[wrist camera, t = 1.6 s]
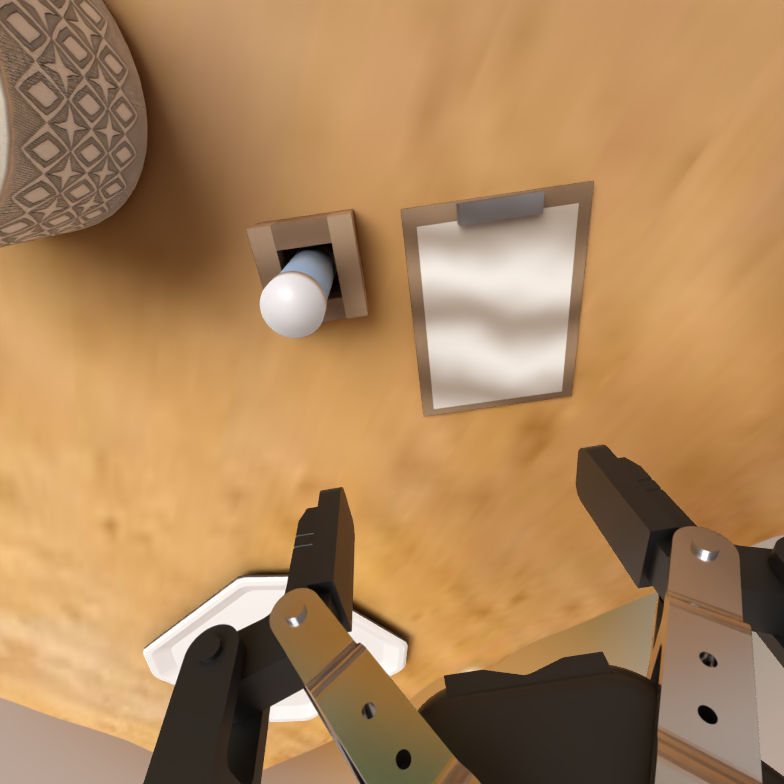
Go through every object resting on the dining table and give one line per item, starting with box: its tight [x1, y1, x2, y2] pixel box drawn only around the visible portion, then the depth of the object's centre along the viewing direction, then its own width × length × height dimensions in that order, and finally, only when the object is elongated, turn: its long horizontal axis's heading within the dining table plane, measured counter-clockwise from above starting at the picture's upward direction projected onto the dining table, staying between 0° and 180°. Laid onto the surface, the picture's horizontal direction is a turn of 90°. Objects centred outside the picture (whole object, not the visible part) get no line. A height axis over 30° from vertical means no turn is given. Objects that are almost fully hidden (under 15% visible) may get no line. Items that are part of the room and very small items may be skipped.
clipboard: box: [401, 181, 594, 416], centre depth 33 cm, size 18×14×2 cm
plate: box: [143, 574, 408, 722], centre depth 55 cm, size 29×29×2 cm
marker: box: [260, 244, 337, 338], centre depth 26 cm, size 3×3×11 cm
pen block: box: [246, 209, 368, 322], centre depth 30 cm, size 7×7×4 cm
